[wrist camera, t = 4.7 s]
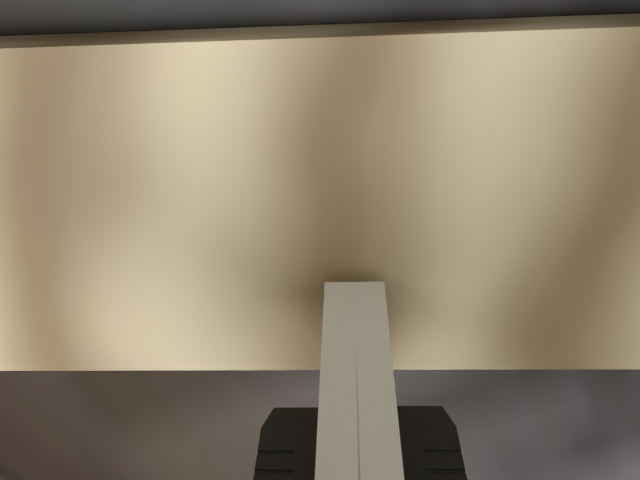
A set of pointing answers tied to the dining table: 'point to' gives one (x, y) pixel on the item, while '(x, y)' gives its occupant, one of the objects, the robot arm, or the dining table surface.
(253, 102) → the plank
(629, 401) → the dining table surface
